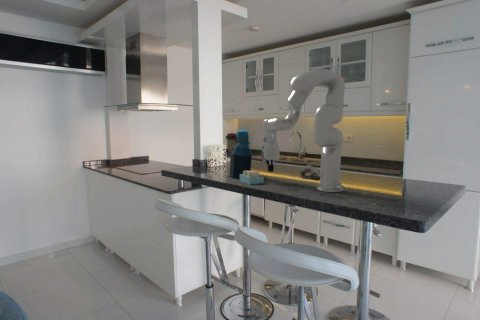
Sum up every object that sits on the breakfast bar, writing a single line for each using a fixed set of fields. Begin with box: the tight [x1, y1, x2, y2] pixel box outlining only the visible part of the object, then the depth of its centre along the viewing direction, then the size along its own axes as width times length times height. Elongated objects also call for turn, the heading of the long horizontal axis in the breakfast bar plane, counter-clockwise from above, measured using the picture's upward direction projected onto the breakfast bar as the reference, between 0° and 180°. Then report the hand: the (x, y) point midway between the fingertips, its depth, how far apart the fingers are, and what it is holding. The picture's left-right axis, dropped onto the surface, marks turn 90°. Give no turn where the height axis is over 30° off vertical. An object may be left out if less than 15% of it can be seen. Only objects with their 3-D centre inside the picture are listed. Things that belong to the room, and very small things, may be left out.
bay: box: [239, 174, 265, 185], centre depth 175 cm, size 12×9×4 cm
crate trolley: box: [243, 169, 260, 178], centre depth 175 cm, size 8×7×6 cm
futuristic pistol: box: [299, 164, 321, 181], centre depth 187 cm, size 2×15×10 cm, turn 53°
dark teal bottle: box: [229, 129, 253, 180], centre depth 193 cm, size 21×14×30 cm, turn 179°
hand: (270, 171), depth 179 cm, fingers closed
